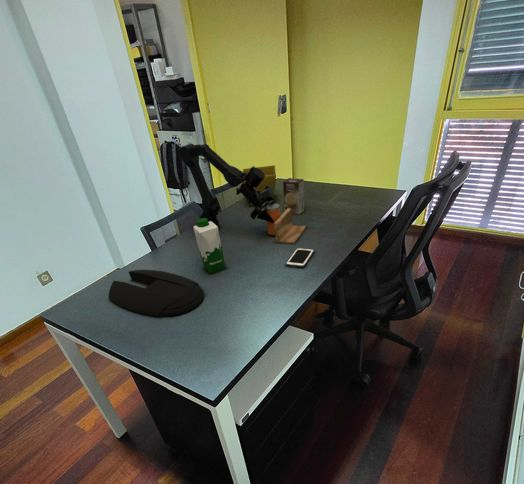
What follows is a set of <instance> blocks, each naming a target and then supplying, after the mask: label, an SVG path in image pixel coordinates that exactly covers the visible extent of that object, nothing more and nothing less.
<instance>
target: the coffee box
mask: <svg viewBox="0 0 524 484" xmlns="http://www.w3.org/2000/svg"><path fill="white" fill-rule="evenodd" d="M282 188H283V190H282V191H283V205H284V212H285V211H286V210H287V208H289V209H291V211H292V215H301V214H302V213H303V212H304V211H305V183H304V178H294V177H293V178H292V177H287V179H285V180H284V181H283V182H282Z"/></svg>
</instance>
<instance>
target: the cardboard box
mask: <svg viewBox="0 0 524 484" xmlns="http://www.w3.org/2000/svg"><path fill="white" fill-rule="evenodd" d="M254 167H255V166H254ZM255 168H258V169H260V170H262V171H263V173H264V175H265V177H264V179H263V180H262V181H261V183H260V184H259V185H258V187H254V188H255V189H256V190H257V191H258V190H260V191H261V192H262V191H264V190H265V187H266V186H268V185H270V186H272V188H274V189H273V192H274V195H275V194H276V185H277V171H276V165H273V164H272V165H266V166H265V165H264V166H256V167H255ZM250 169H251V167H248V168H242V172H243V173H248V172H249V171H250ZM245 182H246V180H245V181H244V182H242V183H245ZM242 183H241V184H242ZM274 199H275V198H274ZM274 199H273V200H274ZM273 200H272V201H273ZM274 201H275V200H274ZM249 205H250V206H251V207H254V206H253V205H252V204H251V203H250V204H249Z"/></svg>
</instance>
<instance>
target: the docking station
mask: <svg viewBox="0 0 524 484" xmlns="http://www.w3.org/2000/svg"><path fill="white" fill-rule="evenodd" d="M128 275H129V277H130V280H131V281H132V282H136V283H140V284H143V285H147V286H146V287H142V286H139V285H135V284H132V283H128V282H125V281H121V280H120V281H119V280H113V281H112V282H111V285H110V287H109V290H108V300H109V301H110V302H112V303H113V304H115V305H117V306H118V307H121V308H123V309H126V310H127V311H130V312H134V313H137V314H141V315H145V316H151V317H158V318H162V317H165V316H166V317H167V316H168V317H169V316H176V315H177V316H178V315H181V314H185V313H188V312H189V311H192V310H193V309H195V308H197V307H198V306H199V305H200V304H201V303H202V302H203V300H204V298H205V291H204V289H203V288H202V287H201V286H200V284H199V283H198V282H197V281H194V280H193V279H190V278H187V277H184V276H182V275H179V274H176V273H172V272H167V271H164V270H163V271H162V270H154V269H134V270H130V271H128Z"/></svg>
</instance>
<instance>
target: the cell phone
mask: <svg viewBox="0 0 524 484" xmlns="http://www.w3.org/2000/svg"><path fill="white" fill-rule="evenodd" d="M314 253H315V249H313V248H304V247H297V248H296V249H295V250H294V251H293V253H292V254H291V256H290V257H289V258H288V260H287V261H286V263H285V266H287V267H291V268H292V267H295V268H305V266H306V265H307V264H308V262H309V260H310V259H311V257H312V256H313V254H314Z"/></svg>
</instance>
